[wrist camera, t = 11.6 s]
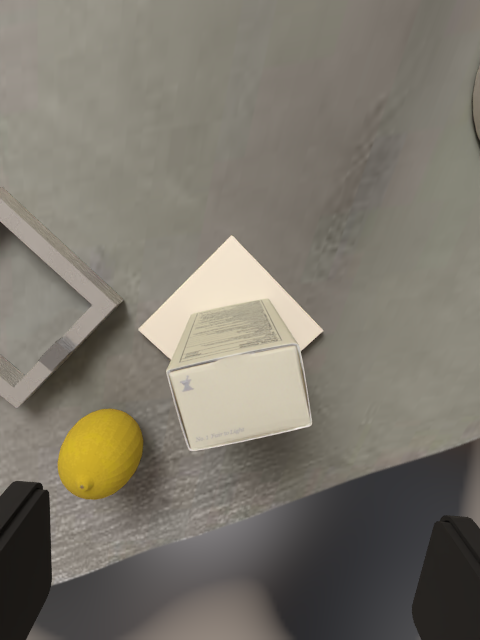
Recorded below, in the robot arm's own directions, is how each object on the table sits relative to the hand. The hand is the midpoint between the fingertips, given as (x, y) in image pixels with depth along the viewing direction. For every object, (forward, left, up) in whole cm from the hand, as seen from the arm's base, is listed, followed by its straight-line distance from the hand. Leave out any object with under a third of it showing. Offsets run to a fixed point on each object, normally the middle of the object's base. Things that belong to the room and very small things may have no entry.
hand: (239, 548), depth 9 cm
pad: (0, 0, -21) cm, 21 cm away
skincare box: (0, 0, -21) cm, 21 cm away
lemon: (+13, -1, -22) cm, 25 cm away
